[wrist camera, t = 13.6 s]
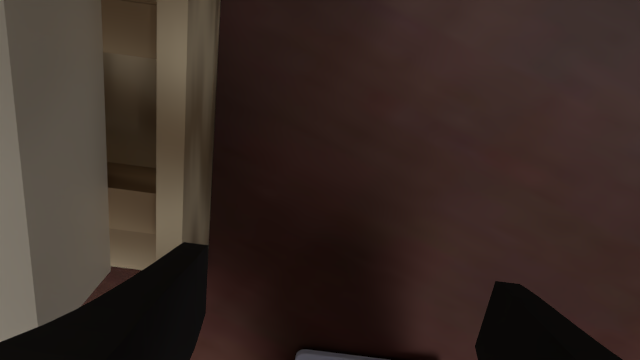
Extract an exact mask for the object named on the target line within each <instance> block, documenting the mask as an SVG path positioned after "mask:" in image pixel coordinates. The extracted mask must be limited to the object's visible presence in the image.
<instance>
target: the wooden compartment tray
mask: <svg viewBox="0 0 640 360" xmlns="http://www.w3.org/2000/svg"><path fill="white" fill-rule="evenodd" d="M220 3H221V0H101V12H102V40H103V68H104V96H105V124H106V152H107V180H108V208H109V236H110V264H111V266H114V267H122V268H130V269H138V270H143V269H145V268H146V267H148V266H149V265H151V264H152V263H154V262H155V261H157V260H158V259H160V258H161V257H163V256H164V255H166V254H167V253H168V252H170V251H171V250H173V249H174V248H176V247H177V246H179V245H180V244H182V243H183V242H187V243H195V244H203V245H208V249H209V228H210V208H211V187H212V167H213V146H214V126H215V106H216V85H217V65H218V44H219V24H220ZM207 269H208V266H207Z"/></svg>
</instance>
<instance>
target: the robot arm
mask: <svg viewBox="0 0 640 360" xmlns="http://www.w3.org/2000/svg"><path fill="white" fill-rule="evenodd" d="M207 266H208V245H203V244H195V243H187V242H183V243H182V244H180V245H179V246H177V247H176V248H174V249H173V250H171V251H170V252H168V253H167V254H166V255H164V256H163V257H161V258H160V259H158V260H157V261H155V262H154V263H152V264H151V265H149V266H148V267H146V268H145V269H143V270H142V271H140V272H139V273H137V274H136V275H134V276H133V277H131V278H130V279H128V280H127V281H125V282H123V283H122V284H120V285H118V286H116V287H115V288H113V289H111V290H110V291H108V292H106V293H105V294H103V295H101V296H100V297H98V298H96V299H95V300H93V301H91V302H89V303H87V304H85V305H83V306H81V307H79V308H78V309H76V310H74V311H72V312H69V313H67V314H65V315H63V316H61V317H59V318H57V319H55V320H53V321H51V322H48V323H46V324H44V325H42V326H39V327H37V328H34V329H32V330H29V331H27V332H24V333H22V334H19V335H17V336H14V337H12V338H9V339H7V340H4V341H2V342H0V360H190V358H191V355H192V353H193V351H194V348H195V345H196V342H197V339H198V336H199V333H200V330H201V326H202V323H203V320H204V316H205V312H206V289H207ZM475 348H476V353H477V357H478V360H622V359H621V358H619V357H618V356H617V355H615V354H614V353H612V352H611V351H609V350H608V349H607V348H605V347H604V346H603V345H601V344H600V343H598V342H597V341H596V340H594V339H593V338H592V337H590V336H589V335H588V334H586V333H585V332H584V331H582V330H581V329H580V328H578V327H577V326H576V325H575V324H573V323H572V322H571V321H569V320H568V319H567V318H565V317H564V316H563V315H562V314H560V313H559V312H558V311H556V310H555V309H554V308H552V307H551V306H550V305H549V304H547V303H546V302H545V301H543V300H542V299H541V298H539V297H538V296H537V295H535V294H534V293H532V292H531V291H530V290H528V289H527V288H525V287H523V286H522V285H520V284H514V283H506V282H498V281H496V282H495V285H494V288H493V291H492V294H491V297H490V301H489V304H488V307H487V310H486V313H485V316H484V319H483V323H482V326H481V329H480V332H479V335H478V338H477V342H476V345H475ZM295 360H389V359H380V358H372V357H364V356H356V355H348V354H340V353H332V352H324V351H316V350H308V349H302V350H299V351H298V352H297V353H296V357H295Z"/></svg>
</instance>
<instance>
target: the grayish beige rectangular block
mask: <svg viewBox="0 0 640 360" xmlns="http://www.w3.org/2000/svg"><path fill="white" fill-rule="evenodd" d="M110 271H111V264H110V236H109V208H108V180H107V152H106V124H105V96H104V68H103V40H102V12H101V0H0V342H2V341H4V340H7V339H9V338H12V337H14V336H17V335H19V334H22V333H24V332H27V331H29V330H32V329H34V328H37V327H39V326H42V325H44V324H46V323H48V322H51V321H53V320H55V319H57V318H59V317H61V316H63V315H65V314H67V313H69V312H72V311H74V310H76V309H78V308H79V307H80V306H81V305H82V304H83V303H84V302H85V301H86V299H87V298H88V297H89V296H90V295H91V293H92V292H93V291H94V290H95V289H96V288H97V286H98V285H99V284H100V283H101V282H102V280H103V279H104V278H105V277H106V276H107V275H108V273H109V272H110Z"/></svg>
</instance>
